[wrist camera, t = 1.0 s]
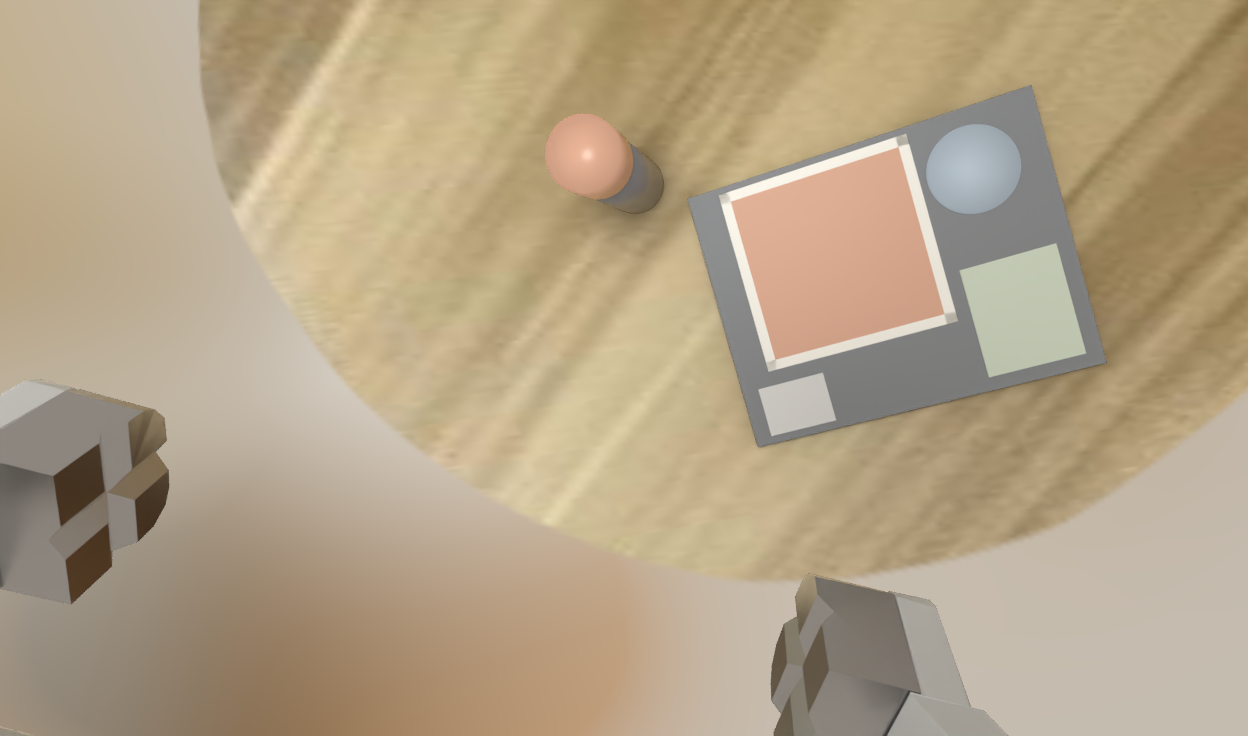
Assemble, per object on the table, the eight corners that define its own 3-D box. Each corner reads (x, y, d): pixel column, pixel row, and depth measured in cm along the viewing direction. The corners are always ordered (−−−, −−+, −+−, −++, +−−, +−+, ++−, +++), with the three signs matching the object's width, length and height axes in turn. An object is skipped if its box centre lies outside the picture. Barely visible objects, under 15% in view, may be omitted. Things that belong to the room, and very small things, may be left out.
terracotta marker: (655, 146, 50) (607, 102, 38) (672, 204, 50) (628, 178, 38) (599, 165, 51) (535, 128, 39) (616, 223, 51) (557, 202, 39)
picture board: (1027, 88, 45) (1031, 84, 44) (1101, 361, 45) (1107, 362, 44) (689, 200, 50) (687, 198, 49) (758, 445, 50) (758, 447, 49)
